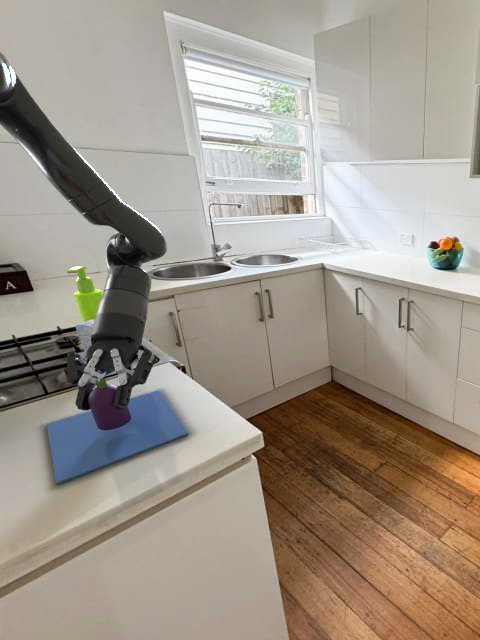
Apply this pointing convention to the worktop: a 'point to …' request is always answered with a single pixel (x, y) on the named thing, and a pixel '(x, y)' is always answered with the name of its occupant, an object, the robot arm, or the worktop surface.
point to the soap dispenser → (86, 294)
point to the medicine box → (85, 333)
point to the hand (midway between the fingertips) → (101, 408)
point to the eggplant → (107, 407)
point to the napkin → (111, 437)
